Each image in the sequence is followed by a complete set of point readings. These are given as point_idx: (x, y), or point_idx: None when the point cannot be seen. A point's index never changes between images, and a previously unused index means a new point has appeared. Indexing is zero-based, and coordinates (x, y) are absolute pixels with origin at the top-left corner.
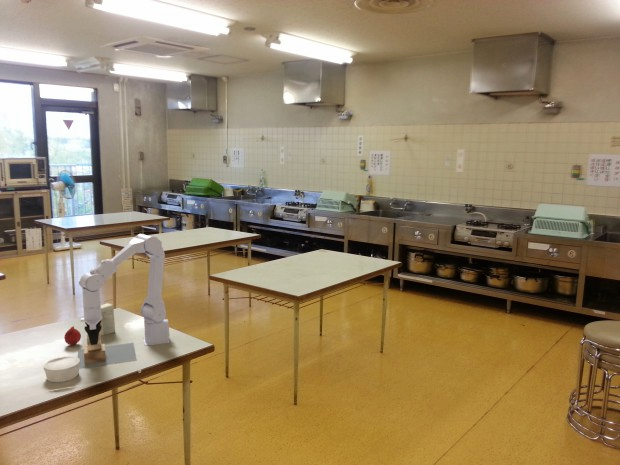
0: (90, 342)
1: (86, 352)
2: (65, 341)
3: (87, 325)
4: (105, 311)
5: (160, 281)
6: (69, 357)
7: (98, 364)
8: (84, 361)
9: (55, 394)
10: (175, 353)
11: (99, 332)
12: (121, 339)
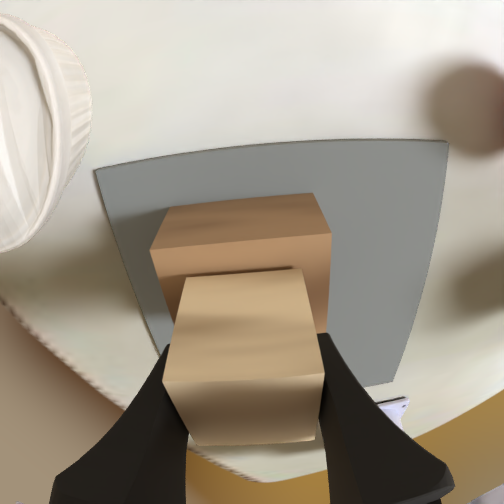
0: (157, 362)
1: (168, 266)
2: None
3: (349, 474)
4: None
5: None
6: (46, 159)
7: (151, 283)
8: (166, 215)
9: None
10: (232, 455)
11: (297, 438)
12: (465, 332)
